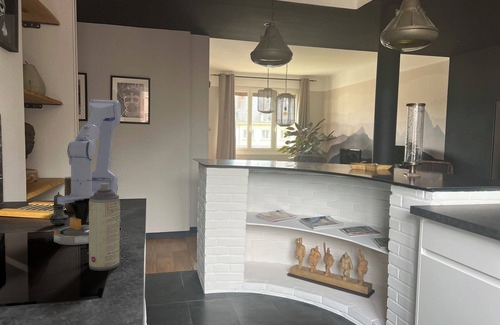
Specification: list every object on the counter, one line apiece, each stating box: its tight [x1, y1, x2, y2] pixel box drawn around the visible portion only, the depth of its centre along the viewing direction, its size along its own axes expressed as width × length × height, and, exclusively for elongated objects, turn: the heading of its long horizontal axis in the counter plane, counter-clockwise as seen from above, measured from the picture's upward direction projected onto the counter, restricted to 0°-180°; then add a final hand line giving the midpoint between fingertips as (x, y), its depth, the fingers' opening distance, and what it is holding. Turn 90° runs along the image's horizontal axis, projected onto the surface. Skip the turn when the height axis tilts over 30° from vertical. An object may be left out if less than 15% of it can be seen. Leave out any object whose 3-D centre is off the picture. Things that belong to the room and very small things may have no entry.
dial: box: [64, 216, 89, 236], centre depth 106 cm, size 10×9×5 cm
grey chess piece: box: [48, 191, 69, 226], centre depth 120 cm, size 6×6×12 cm
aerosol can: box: [88, 183, 121, 272], centre depth 86 cm, size 7×7×20 cm
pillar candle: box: [63, 176, 74, 213], centre depth 147 cm, size 10×10×15 cm
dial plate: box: [53, 224, 89, 246], centre depth 106 cm, size 15×15×3 cm
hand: (81, 224), depth 109 cm, fingers closed
